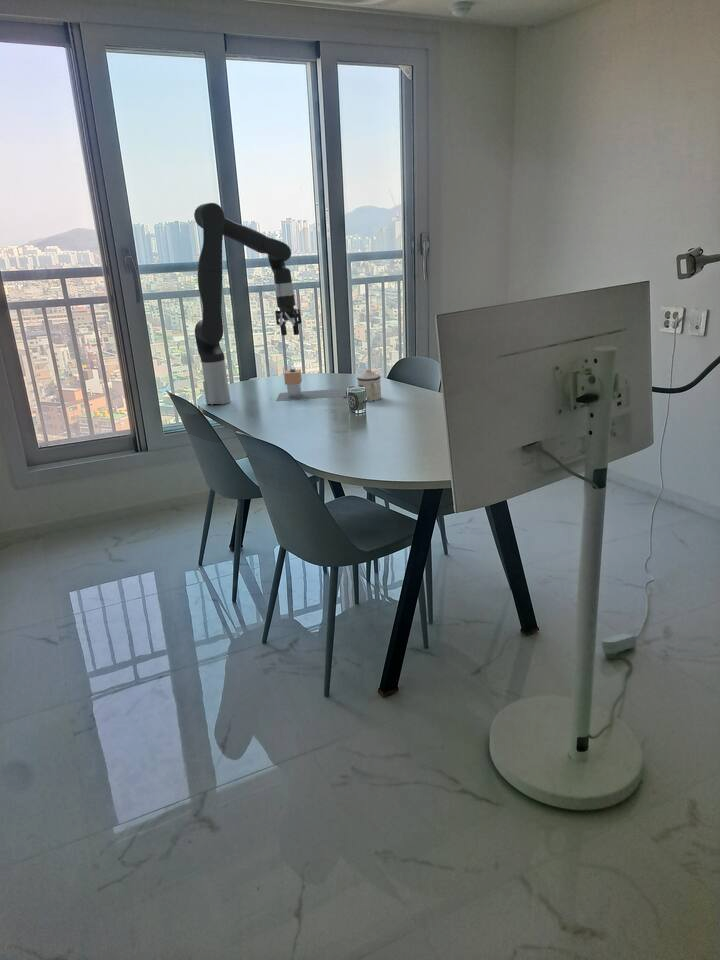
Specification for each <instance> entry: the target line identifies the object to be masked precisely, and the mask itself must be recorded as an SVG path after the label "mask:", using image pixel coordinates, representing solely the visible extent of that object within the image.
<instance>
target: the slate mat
mask: <svg viewBox="0 0 720 960" xmlns="http://www.w3.org/2000/svg"><path fill="white" fill-rule="evenodd" d="M301 392H302V394H301V397H291V398H288V391H287V392H279V394H278V396H277V398H276V402H285V401H297V400H298V401H299V400H312V399H313V400H315V399H329V398H330V399H331V398H343V399H345V398H347V394H346V388H335V389H334V388H333V389H317V390H304V391H302V390H301Z"/></svg>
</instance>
